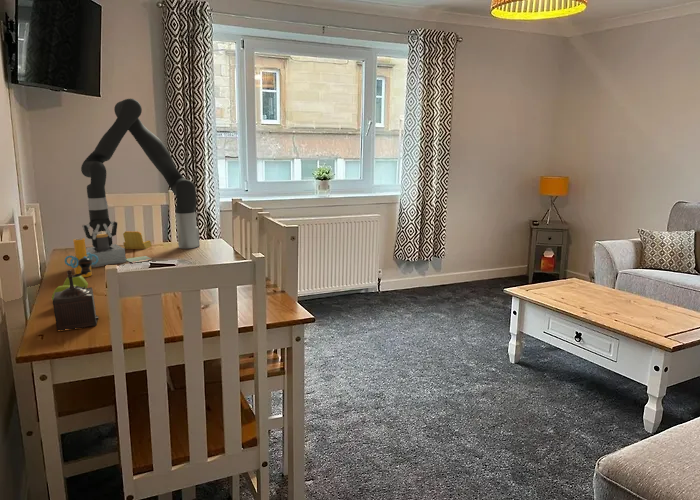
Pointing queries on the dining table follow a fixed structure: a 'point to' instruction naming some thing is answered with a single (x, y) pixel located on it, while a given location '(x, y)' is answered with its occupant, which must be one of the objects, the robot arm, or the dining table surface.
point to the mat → (137, 258)
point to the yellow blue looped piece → (80, 256)
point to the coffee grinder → (75, 303)
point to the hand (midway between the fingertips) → (102, 246)
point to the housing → (107, 255)
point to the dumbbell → (76, 282)
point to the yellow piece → (135, 240)
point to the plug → (102, 242)
